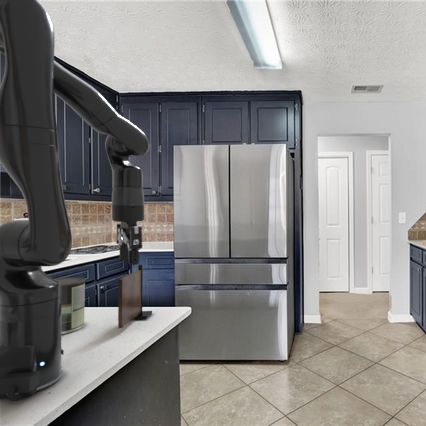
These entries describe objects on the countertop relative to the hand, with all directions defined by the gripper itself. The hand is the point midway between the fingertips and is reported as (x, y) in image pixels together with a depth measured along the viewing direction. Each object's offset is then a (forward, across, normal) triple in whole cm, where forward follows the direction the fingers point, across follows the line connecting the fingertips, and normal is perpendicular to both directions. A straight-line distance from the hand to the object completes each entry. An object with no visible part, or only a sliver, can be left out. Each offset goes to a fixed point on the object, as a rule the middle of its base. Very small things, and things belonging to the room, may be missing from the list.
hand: (128, 262), depth 83 cm
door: (+19, -9, +2) cm, 22 cm away
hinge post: (+21, -14, +6) cm, 26 cm away
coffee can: (+21, -20, -12) cm, 31 cm away
